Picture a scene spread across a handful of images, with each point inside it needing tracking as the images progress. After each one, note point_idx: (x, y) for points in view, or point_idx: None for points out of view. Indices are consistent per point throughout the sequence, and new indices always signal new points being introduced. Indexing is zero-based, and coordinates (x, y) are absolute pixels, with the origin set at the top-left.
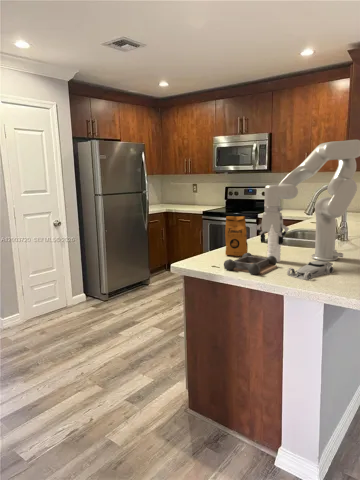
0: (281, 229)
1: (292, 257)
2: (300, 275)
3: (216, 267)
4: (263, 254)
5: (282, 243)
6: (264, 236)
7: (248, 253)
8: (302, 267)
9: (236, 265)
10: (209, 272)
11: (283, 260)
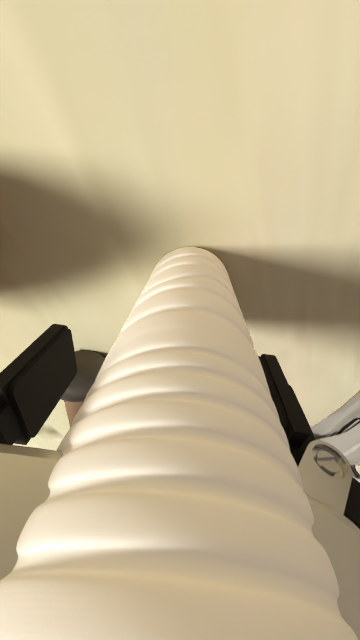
0: (344, 558)
1: (305, 85)
2: None
3: (48, 433)
4: (27, 87)
5: (273, 356)
6: (33, 384)
7: (75, 396)
8: (358, 442)
9: None
10: None
11: (243, 242)
